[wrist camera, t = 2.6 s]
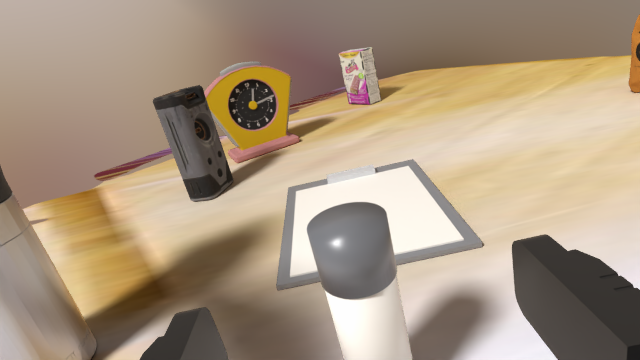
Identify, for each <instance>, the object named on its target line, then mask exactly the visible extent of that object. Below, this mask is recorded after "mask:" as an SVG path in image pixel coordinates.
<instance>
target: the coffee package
mask: <svg viewBox="0 0 640 360" xmlns="http://www.w3.org/2000/svg"><path fill="white" fill-rule="evenodd" d="M631 51H632V57H631V68H630V78H629V86H630V88H631V90H632V91H633V92H640V15H639V16H638V18H637V21H636V23H635V27H634V30H633V33H632V46H631Z"/></svg>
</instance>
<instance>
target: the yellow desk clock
mask: <svg viewBox="0 0 640 360" xmlns="http://www.w3.org/2000/svg"><path fill="white" fill-rule="evenodd" d="M291 82H292V81H291V77H290V75H288V74H287V73H285V72H283V71H281V70H278V69H275V68H272V67H269V66H261V63H260V62H244V63H238V64H235V65H232V66H230V67H228V68H225V69H224V70H222V71H221V72H220V76H219V77H218V78H217V79H215V80H214V81H213V83H211V85H210V86H209V87H208V88H207V89H206V91H205V92H204V94H205V97H206V100H207V103H208V106H209V109H210V112H211V115H212V118H213V120H214V121H215V122H216V123H217V124H218V126H219V127H220V128H221V129H222V131H223V132H224V133H225V134H226V136H227V137H228V138H229V139H230V141H231V142H232V143H233V144H234V145H235V146H237V147H236V148H234V149H231V150H229V151H228V154H229V156H230V157H231V158H232V159H233V160H234V161H235V162H237V163H240V162H243V161H246V160H249V159H252V158H255V157H258V156H261V155H264V154H266V153H269V152H272V151H275V150H278V149H281V148H284V147H287V146H290V145H292V144H295V143H298V142H299V141H300V139H299V137H298V136H296V135H294V134H291V133H289V132H286V131H287V130H288V119H289V106H290V94H291Z"/></svg>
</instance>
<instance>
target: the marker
mask: <svg viewBox="0 0 640 360" xmlns="http://www.w3.org/2000/svg"><path fill="white" fill-rule="evenodd" d="M307 234H308V237H309V241H310V245H311V248H312V252H313V255H314V259H315V263H316V266H317V270H318V273H319V277H320V281H321V284H322V287H323V288H324V290H325V292H326V296H327V300H328V303H329V307H330V311H331V314H332V318H333V322H334V325H335V329H336V332H337V336H338V340H339V343H340V347H341V351H342V354H343V358H344V360H413V359H412V354H411V348H410V343H409V338H408V333H407V327H406V322H405V317H404V312H403V306H402V301H401V296H400V291H399V285H398V280H397V275H396V274H397V266H396V260H395V255H394V250H393V245H392V239H391V234H390V229H389V223H388V218H387V213H386V211H385V209H384V208H383V207H381V206H379V205H377V204H374V203H369V202H351V203H345V204H340V205H337V206H333V207H331V208H328V209H326V210H324V211H322V212H320V213H319V214H317V215H316V216H315V217H314V218H312V219H311V221H310V222H309V223H308V226H307Z"/></svg>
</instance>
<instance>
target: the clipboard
mask: <svg viewBox="0 0 640 360" xmlns="http://www.w3.org/2000/svg"><path fill="white" fill-rule="evenodd" d="M351 202H369V203H374V204H377V205H379V206H381V207H383V208H384V209H385V211H386V213H387V218H388V223H389V229H390V234H391V239H392V245H393V250H394V255H395V260H396V265H400V264H404V263H409V262H414V261H418V260H423V259H428V258H433V257H437V256H442V255H447V254H451V253H456V252H461V251H465V250H470V249H475V248H479V247H482V241H481V240H480V239H479V238H478V237H477V235H476V234H475V233H474V232H473V231H472V229H471V228H470V227H469V226H468V225H467V223H466V222H465V221H464V220H463V219H462V217H461V216H460V215H459V214H458V213H457V211H456V210H455V209H454V208H453V207H452V205H451V204H450V203H449V202H448V201H447V199H446V198H445V197H444V196H443V195H442V193H441V192H440V191H439V190H438V189H437V187H436V186H435V185H434V184H433V183H432V181H431V180H430V179H429V178H428V177H427V175H426V174H425V173H424V172H423V171H422V169H421V168H420V167H419V166H418V165H417V163H416V162H415V161H414V160H413V159H412V160H408V161H403V162H399V163H394V164H390V165H386V166H381V167H377V168H374V166H373V165H368V166H364V167H359V168H355V169H351V170H346V171H342V172H337V173H333V174H329V175H327V179H324V180H320V181H315V182H311V183H306V184H302V185H298V186H293V187H289V188H288V195H287V204H286V212H285V220H284V228H283V236H282V244H281V252H280V260H279V268H278V276H277V284H276V286H277V290H282V289H287V288H292V287H296V286H301V285H306V284H310V283H315V282H320V277H319V273H318V270H317V266H316V263H315V259H314V255H313V252H312V248H311V245H310V241H309V237H308V234H307V226H308V223H309V222H310V221H311V219H312V218H314V217H315V216H316V215H317V214H319V213H320V212H322V211H324V210H326V209H328V208H331V207H333V206H337V205H340V204H345V203H351Z"/></svg>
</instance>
